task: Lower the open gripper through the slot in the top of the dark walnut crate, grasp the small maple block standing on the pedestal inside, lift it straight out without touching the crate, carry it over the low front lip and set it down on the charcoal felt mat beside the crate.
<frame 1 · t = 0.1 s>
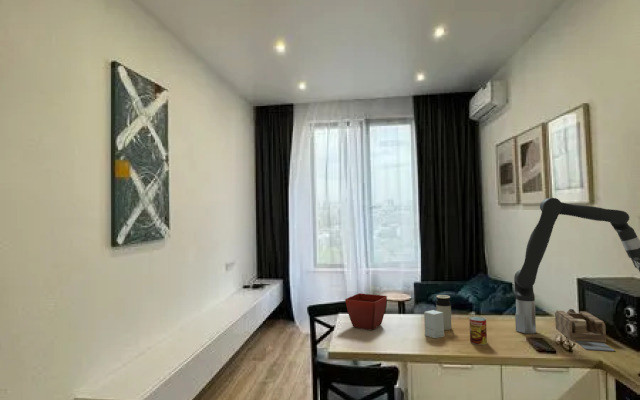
travel mug: (444, 328, 220), on the counter
canned food: (478, 342, 195), on the counter
plant pot: (366, 326, 226), on the counter
supplement box: (434, 336, 206), on the counter
block: (579, 329, 203), point 3 cm above the counter, touching station
vase: (572, 325, 222), on the counter
station: (585, 339, 196), on the counter
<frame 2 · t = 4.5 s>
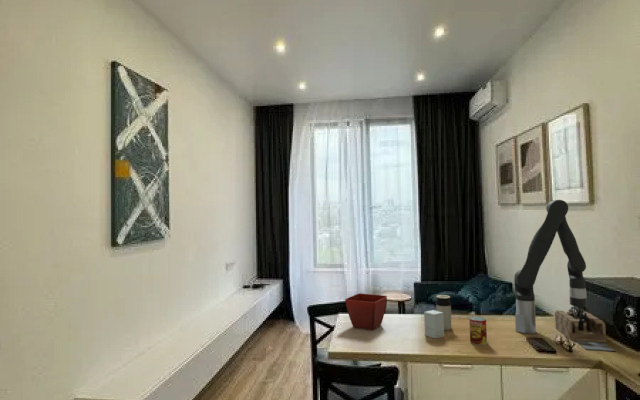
hand: (579, 328, 203), 3 cm above the counter, tool pointing down, fingers closed on block, 4 cm apart
block: (579, 329, 203), point 3 cm above the counter, touching gripper, station
everything else where it was.
when the fingers open (2 cm above the counter, at t = 10.2 s): block drops 2 cm, resting on station.
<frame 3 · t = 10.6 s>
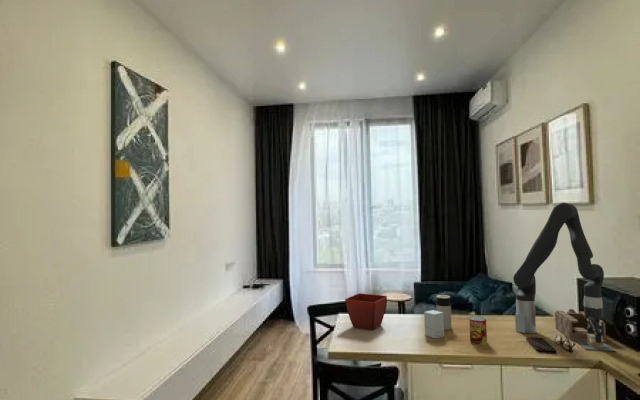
hand: (594, 339, 186), 3 cm above the counter, tool pointing down, fingers open, 7 cm apart
block: (595, 345, 186), resting on station
everything else where it was.
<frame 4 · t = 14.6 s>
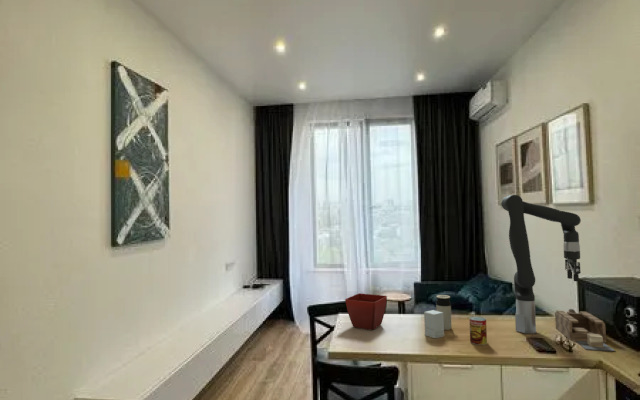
hand: (573, 279, 209), 28 cm above the counter, tool pointing down, fingers open, 8 cm apart
nothing on the counter moved.
at the end: block inside the target area on the station (0.1 cm from its centre), point 0.4 cm above the station's base; block tilted 0°; the gripper is holding nothing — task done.
